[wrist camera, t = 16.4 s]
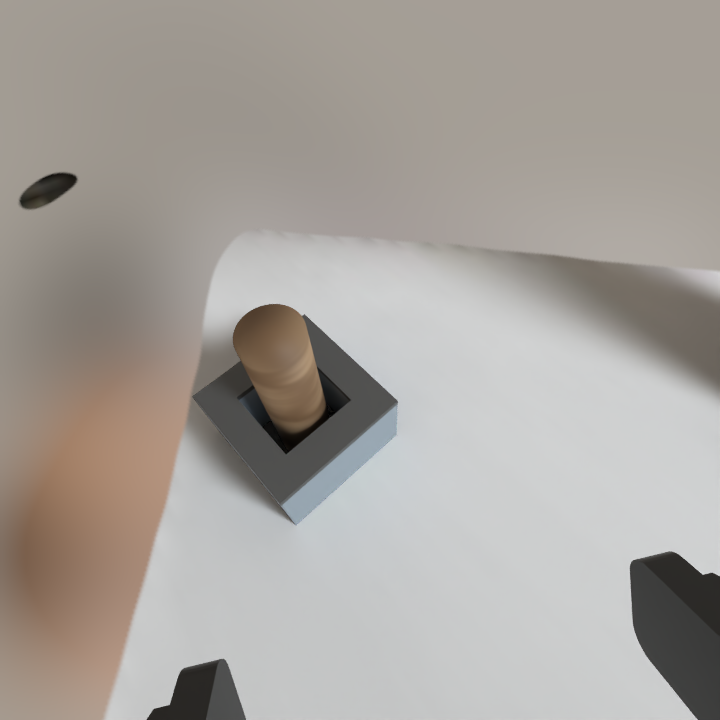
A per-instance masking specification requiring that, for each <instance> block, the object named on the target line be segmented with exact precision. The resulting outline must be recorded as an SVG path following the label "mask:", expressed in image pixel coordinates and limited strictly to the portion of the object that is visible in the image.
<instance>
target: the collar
mask: <svg viewBox="0 0 720 720" xmlns="http://www.w3.org/2000/svg"><path fill="white" fill-rule="evenodd" d="M302 317H303V319H304V321H305V323H306V327H307V331H308V335H309V339H310V343H311V346H312V350H313V354H314V358H315V362H316V366H317V370H318V374H319V378H320V382H321V386H322V390H323V394H324V397H325V401H326V403H327V404H328V405H329V406H330V407H331V408H332V409H333V410H334V411H335V412H336V413H335V414H334V415H333V416H332V417H330V418H329V419H328V420H327V421H326V422H325V423H323V424H322V425H321V426H320V427H319V428H317V429H316V430H315V431H314V432H313V433H311V434H310V435H309V436H308V437H307V438H305V439H304V440H303V441H302V442H301V443H299V444H298V445H297V446H296V447H295V448H293V449H292V450H291V451H290V452H289V453H287V454H285V453H284V452H283V451H282V449H281V448H280V447H279V446H278V445H277V444H276V442H275V441H274V440H273V439H272V438H271V437H270V436H269V434H268V433H267V432H266V431H265V430H264V429H263V428H262V427H263V426H264V425H265V424H266V423H268V422H269V421H270V420H271V418H270V417H269V415H268V413H267V411H266V409H265V407H264V405H263V403H262V401H261V399H260V397H259V395H258V393H257V391H256V389H255V387H254V385H253V383H252V381H251V379H250V377H249V375H248V374H247V372H246V370H245V368H244V366H243V364H242V362H241V361H240V362H239V363H237V364H236V365H235V366H233V367H232V368H231V369H229V370H228V371H227V372H225V373H224V374H223V375H221V376H220V377H218V378H217V379H216V380H214V381H213V382H212V383H210V384H209V385H208V386H206V387H205V388H203V389H202V390H201V391H199V392H198V393H197V394H195V395H194V396H193V398H194V400H195V401H196V402H197V403H198V405H199V406H200V407H201V408H202V410H203V411H204V412H205V414H206V415H207V416H208V417H209V419H210V420H211V421H212V422H213V424H214V425H215V426H216V428H217V429H218V430H219V431H220V433H221V434H222V435H223V436H224V437H225V439H226V440H227V441H228V442H229V444H230V445H231V446H232V447H233V449H234V450H235V451H236V452H237V453H238V455H239V456H240V457H241V458H242V460H243V461H244V462H245V463H246V464H247V466H248V467H249V468H250V469H251V471H252V472H253V473H254V474H255V476H256V477H257V478H258V479H259V480H260V482H261V483H262V484H263V485H264V487H265V488H266V489H267V490H268V491H269V493H270V494H271V495H272V496H273V498H274V499H275V500H276V501H277V503H278V504H279V505H280V506H281V507H282V509H283V510H284V511H285V512H286V514H287V515H288V516H289V517H290V518H291V520H292V521H293V522H294V523H295V525H297V524H298V523H299V522H300V521H301V520H302V519H303V518H305V517H306V516H307V515H308V514H309V513H310V512H311V511H312V510H313V509H315V508H316V507H317V506H318V505H319V504H320V503H321V502H322V501H323V500H325V499H326V498H327V497H328V496H329V495H330V494H331V493H332V492H333V491H335V490H336V489H337V488H338V487H339V486H340V485H341V484H342V483H343V482H345V481H346V480H347V479H348V478H349V477H350V476H351V475H352V474H353V473H355V472H356V471H357V470H358V469H359V468H360V467H361V466H362V465H363V464H364V463H366V462H367V461H368V460H369V459H370V458H371V457H372V456H373V455H374V454H376V453H377V452H378V451H379V450H380V449H381V448H382V447H383V446H384V445H386V444H387V443H388V442H389V441H390V440H391V439H392V438H393V437H394V436H396V433H397V403H398V401H397V400H396V399H395V398H394V397H393V396H392V395H391V394H390V393H388V392H387V391H386V390H385V389H384V388H383V387H382V386H381V385H380V384H379V383H378V382H377V381H376V380H374V379H373V378H372V377H371V376H370V375H369V374H368V373H367V372H366V371H365V370H364V369H363V368H362V367H360V366H359V365H358V364H357V363H356V362H355V361H354V360H353V359H352V358H351V357H350V356H349V355H348V354H347V353H345V352H344V351H343V350H342V349H341V348H340V347H339V346H338V345H337V344H336V343H335V342H334V341H333V340H331V339H330V338H329V337H328V336H327V335H326V334H325V333H324V332H323V331H322V330H321V329H320V328H319V327H317V326H316V325H315V324H314V323H313V322H312V321H311V320H310V319H309V318H308V317H307V316H306V315H305V314H304V315H303V316H302Z"/></svg>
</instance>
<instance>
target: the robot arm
mask: <svg viewBox="0 0 720 720" xmlns="http://www.w3.org/2000/svg"><path fill="white" fill-rule="evenodd" d="M630 579H631V598H632V616H633V626H634V630H635V633H636V636H637V639H638V641H639V643H640V645H641V647H642V649H643V651H644V653H645V654H646V656H647V657H648V659H649V660H650V661H651V662H652V664H653V665H654V666H655V667H656V669H657V670H658V671H659V672H660V674H661V675H662V676H663V677H664V679H665V680H666V681H667V682H668V683H669V685H670V686H671V687H672V688H673V690H674V691H675V692H676V693H677V695H678V696H679V697H680V698H681V700H682V701H683V702H684V703H685V704H686V706H687V707H688V708H689V709H690V711H691V712H692V713H693V714H694V716H695V717H696V718H697V719H698V720H720V576H718V575H716V574H714V573H709V574H705V575H702V574H701V573H700V572H699V571H697V570H696V569H695V568H694V567H693V566H692V565H690V564H689V563H688V562H687V561H686V560H685V559H683V558H682V557H681V556H680V555H678V554H677V553H675V552H665V553H661V554H657V555H653V556H649V557H645V558H641V559H637V560H633V561H632V562H631V565H630ZM147 720H246V718H245V715H244V712H243V709H242V706H241V703H240V700H239V697H238V694H237V691H236V688H235V684H234V681H233V678H232V675H231V672H230V669H229V667H228V664H227V662H226V661H225V660H224V659H220V660H216V661H211V662H207V663H203V664H199V665H195V666H191V667H187V668H184V669H182V671H181V672H180V674H179V676H178V679H177V683H176V686H175V689H174V693H173V696H172V700H171V703H170V705H168V706H164V707H160V708H156V709H154V710H153V711H152V713H151V714H150V715H149V717H148V718H147Z"/></svg>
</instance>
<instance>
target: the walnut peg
mask: <svg viewBox="0 0 720 720" xmlns="http://www.w3.org/2000/svg"><path fill="white" fill-rule="evenodd" d="M233 344H234V348H235V350H236V352H237V354H238V356H239V358H240V360H241V362H242V364H243V366H244V368H245V370H246V372H247V374H248V375H249V377H250V379H251V381H252V383H253V385H254V387H255V389H256V391H257V393H258V395H259V397H260V399H261V401H262V403H263V405H264V407H265V409H266V411H267V413H268V415H269V417H270V418H271V420H272V422H273V424H274V426H275V428H276V430H277V432H278V434H279V436H280V438H281V440H282V442H283V444H284V446H285V448H286V449H287V450H288V451H289V452H290V451H291V450H292V449H293V448H295V447H296V446H297V445H298V444H299V443H301V442H302V441H303V440H304V439H305V438H307V437H308V436H309V435H310V434H311V433H313V432H314V431H315V430H316V429H317V428H319V427H320V426H321V425H322V424H323V423H325V422H326V421H327V420H328V419H329V418H330V417H329V413H328V409H327V405H326V401H325V397H324V394H323V390H322V386H321V382H320V378H319V374H318V370H317V366H316V362H315V358H314V354H313V350H312V346H311V343H310V339H309V335H308V331H307V327H306V323H305V321H304V319H303V317H302V316H301V315H300V314H299V313H298V312H297V311H296V310H294V309H293V308H291V307H288V306H285V305H280V304H269V305H264V306H260V307H258V308H255V309H253V310H251V311H250V312H248V313H247V314H246V315H244V316H243V317H242V318H241V320H240V321H239V322H238V324H237V325H236V328H235V330H234V333H233Z"/></svg>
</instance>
